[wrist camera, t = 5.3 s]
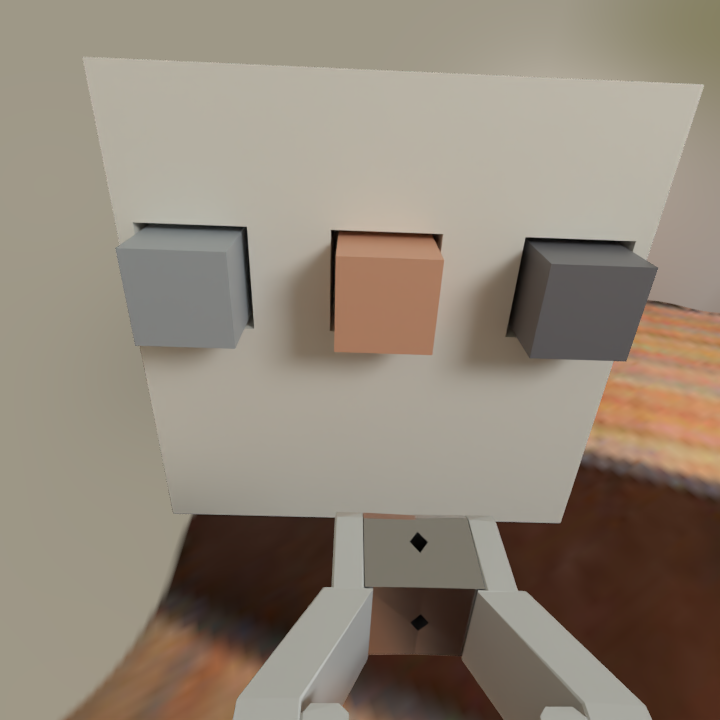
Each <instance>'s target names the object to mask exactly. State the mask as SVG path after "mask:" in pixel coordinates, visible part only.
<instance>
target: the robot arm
mask: <svg viewBox="0 0 720 720" xmlns="http://www.w3.org/2000/svg"><path fill="white" fill-rule="evenodd" d="M380 654H423V655H445V656H462V660H463V662H464V663H465V665H466V666H467V667H468V669H469V670H470V672H471V673H472V675H473V676H474V677H475V679H476V680H477V682H478V683H479V685H480V686H481V688H482V689H483V690H484V692H485V693H486V695H487V696H488V698H489V699H490V700H491V702H492V703H493V705H494V706H495V708H496V709H497V711H498V712H499V713H500V715H501V716H502V718H503V719H504V720H652V719H651V717H650V714H649V712H648V710H647V708H646V706H645V705H644V704H643V703H642V702H641V701H640V700H639V699H638V698H637V697H636V696H635V695H634V694H633V693H632V692H631V691H629V690H628V689H627V688H626V687H625V686H624V685H623V684H622V683H621V682H620V681H619V680H618V679H617V678H616V677H615V676H614V675H613V674H612V673H611V672H610V671H609V670H608V669H607V668H605V667H604V666H603V665H602V664H601V663H600V662H599V661H598V660H597V659H596V658H595V657H594V656H593V655H592V654H591V653H590V652H589V651H588V650H587V649H586V648H585V647H584V646H583V645H581V644H580V643H579V642H578V641H577V640H576V639H575V638H574V637H573V636H572V635H571V634H570V633H569V632H568V631H567V630H566V629H565V628H564V627H563V626H562V625H561V624H560V623H559V622H557V621H556V620H555V619H554V618H553V617H552V616H551V615H550V614H549V613H548V612H547V611H546V610H545V609H544V608H543V607H542V606H541V605H540V604H539V603H538V602H537V601H536V600H535V599H534V598H532V597H531V596H530V595H529V594H528V593H527V592H526V591H518V590H517V587H516V584H515V580H514V577H513V574H512V571H511V568H510V565H509V562H508V559H507V556H506V553H505V549H504V546H503V543H502V540H501V537H500V534H499V531H498V528H497V525H496V521H495V519H494V518H493V517H492V516H473V515H466V516H464V515H400V514H380V513H363V516H362V513H350V512H336V516H335V529H334V549H333V569H332V587H323V589H322V590H321V591H320V592H319V594H318V595H317V596H316V598H315V599H314V600H313V601H312V603H311V604H310V605H309V607H308V608H307V609H306V611H305V612H304V613H303V614H302V616H301V617H300V618H299V620H298V621H297V622H296V623H295V625H294V626H293V627H292V629H291V630H290V631H289V632H288V634H287V635H286V636H285V638H284V639H283V640H282V641H281V643H280V644H279V645H278V647H277V648H276V649H275V650H274V652H273V653H272V654H271V656H270V657H269V658H268V659H267V661H266V662H265V663H264V665H263V666H262V667H261V668H260V670H259V671H258V672H257V674H256V675H255V676H254V677H253V679H252V680H251V681H250V683H249V684H248V685H247V687H246V688H245V689H244V690H243V692H242V693H241V694H240V696H239V697H238V698H237V701H236V706H235V711H234V716H233V720H349V713H348V712H347V711H346V710H345V709H344V708H343V707H342V705H343V704H344V702H345V700H346V698H347V696H348V694H349V692H350V691H351V689H352V687H353V685H354V683H355V681H356V679H357V677H358V676H359V674H360V672H361V670H362V668H363V666H364V664H365V662H366V661H367V659H368V655H380Z"/></svg>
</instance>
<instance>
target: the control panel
mask: <svg viewBox="0 0 720 720" xmlns="http://www.w3.org/2000/svg"><path fill="white" fill-rule="evenodd" d="M82 58H83V63H84V68H85V73H86V78H87V83H88V88H89V93H90V98H91V103H92V108H93V113H94V118H95V123H96V128H97V133H98V137H99V143H100V148H101V153H102V158H103V163H104V168H105V173H106V178H107V183H108V189H109V193H110V198H111V204H112V208H113V214H114V218H115V224H116V229H117V234H118V239H119V244H120V245H121V244H122V243H123V242H125V241H126V240H128V239H129V238H131V237H132V236H134V235H135V234H136V233H138V232H139V231H141V230H142V229H144V228H145V227H147V226H148V225H149V224H151V223H162V224H189V225H215V226H242V227H247V234H248V248H249V262H250V276H251V290H252V304H253V311H252V313H251V315H250V317H249V320H248V322H247V324H246V326H245V328H244V331H243V333H242V335H241V337H240V339H239V342H238V344H237V346H236V348H235V349H225V348H194V347H162V346H140V349H141V354H142V359H143V364H144V369H145V375H146V379H147V385H148V390H149V395H150V399H151V405H152V410H153V415H154V420H155V425H156V430H157V435H158V439H159V445H160V449H161V455H162V460H163V465H164V470H165V475H166V480H167V485H168V490H169V495H170V500H171V505H172V510H173V513H175V514H215V515H255V516H295V517H335V516H336V512H350V513H362V516H363V513H380V514H400V515H464V516H466V515H473V516H492V517H493V518H494V519H495V521H497V522H537V523H561V520H562V517H563V514H564V511H565V508H566V504H567V501H568V498H569V495H570V492H571V489H572V486H573V483H574V480H575V477H576V474H577V471H578V468H579V465H580V462H581V459H582V456H583V453H584V450H585V447H586V444H587V441H588V437H589V434H590V431H591V428H592V425H593V422H594V419H595V416H596V413H597V410H598V407H599V404H600V401H601V398H602V395H603V392H604V389H605V386H606V383H607V380H608V377H609V374H610V370H611V367H612V364H613V361H598V360H567V359H535V358H529V356H528V355H527V353H526V352H525V350H524V348H523V347H522V345H521V344H520V342H519V340H518V339H517V337H516V335H515V334H514V332H513V331H512V329H511V327H510V326H509V324H508V322H509V317H510V312H511V307H512V302H513V297H514V292H515V287H516V282H517V277H518V272H519V267H520V262H521V257H522V252H523V247H524V242H525V237H535V238H561V239H588V240H614V241H616V242H618V243H619V244H621V245H622V246H624V247H626V248H627V249H629V250H630V251H632V252H634V253H635V254H637V255H638V256H640V257H642V258H643V259H645V260H646V261H647V257H648V255H649V252H650V249H651V246H652V243H653V239H654V236H655V233H656V230H657V227H658V224H659V221H660V218H661V215H662V212H663V209H664V206H665V203H666V200H667V197H668V194H669V191H670V187H671V185H672V182H673V179H674V176H675V172H676V169H677V166H678V163H679V160H680V157H681V154H682V151H683V148H684V145H685V142H686V139H687V136H688V133H689V130H690V127H691V123H692V121H693V117H694V114H695V112H696V108H697V105H698V102H699V99H700V96H701V93H702V90H703V87H704V85H701V84H678V83H657V82H634V81H612V80H589V79H567V78H544V77H523V76H500V75H477V74H455V73H433V72H411V71H388V70H387V71H386V70H366V69H343V68H321V67H298V66H277V65H276V66H275V65H254V64H232V63H231V64H230V63H210V62H187V61H164V60H143V59H142V60H141V59H120V58H98V57H97V58H96V57H82ZM339 230H349V231H375V232H402V233H428V234H432V236H433V238H434V240H435V242H436V244H437V246H438V248H439V250H440V252H441V254H442V257H443V259H444V266H443V274H442V282H441V290H440V298H439V306H438V314H437V322H436V330H435V338H434V346H433V354H432V355H411V354H380V353H349V352H334V332H335V266H336V249H337V241H338V233H339Z"/></svg>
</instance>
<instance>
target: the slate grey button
mask: <svg viewBox="0 0 720 720" xmlns="http://www.w3.org/2000/svg"><path fill="white" fill-rule="evenodd" d="M116 253H117V258H118V263H119V268H120V273H121V277H122V282H123V288H124V293H125V298H126V302H127V307H128V312H129V317H130V322H131V327H132V331H133V336H134V342H135V345H136V346H162V347H194V348H225V349H235V348H236V346H237V344H238V342H239V339H240V337H241V335H242V333H243V331H244V328H245V326H246V324H247V322H248V320H249V317H250V315H251V313H252V311H253V304H252V290H251V276H250V262H249V248H248V234H247V227H242V226H215V225H189V224H162V223H151V224H149V225H148V226H147V227H145V228H144V229H142V230H141V231H139V232H138V233H136V234H135V235H134V236H132V237H131V238H129V239H128V240H126V241H125V242H123V243H122V244H121V245H119V246H118V247H116Z"/></svg>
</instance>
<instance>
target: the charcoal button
mask: <svg viewBox="0 0 720 720" xmlns="http://www.w3.org/2000/svg"><path fill="white" fill-rule="evenodd" d="M657 270H658V267H656V266H654V265H653V264H651V263H650V262H648V261H646V260H645V259H643V258H642V257H640V256H638V255H637V254H635V253H634V252H632V251H630V250H629V249H627V248H626V247H624V246H622V245H621V244H619V243H618V242H616V241H614V240H588V239H561V238H535V237H525V242H524V247H523V252H522V257H521V262H520V267H519V272H518V277H517V282H516V287H515V292H514V297H513V302H512V307H511V312H510V317H509V322H508V324H509V326H510V327H511V329H512V331H513V332H514V334H515V335H516V337H517V339H518V340H519V342H520V344H521V345H522V347H523V348H524V350H525V352H526V353H527V355H528V356H529V358H535V359H567V360H598V361H626V360H627V357H628V354H629V351H630V349H631V346H632V343H633V340H634V337H635V334H636V331H637V328H638V325H639V322H640V319H641V316H642V314H643V311H644V308H645V305H646V302H647V299H648V296H649V293H650V290H651V287H652V284H653V281H654V278H655V275H656V272H657Z"/></svg>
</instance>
